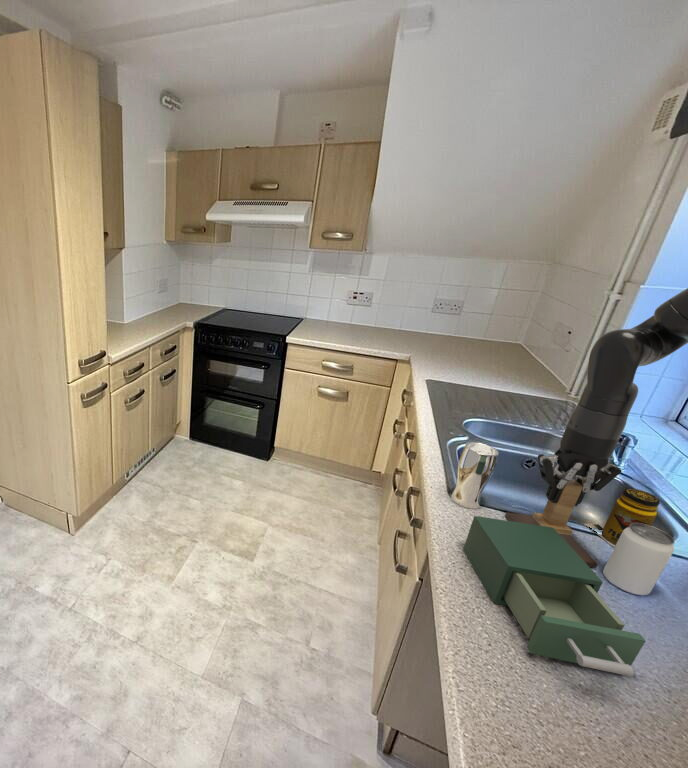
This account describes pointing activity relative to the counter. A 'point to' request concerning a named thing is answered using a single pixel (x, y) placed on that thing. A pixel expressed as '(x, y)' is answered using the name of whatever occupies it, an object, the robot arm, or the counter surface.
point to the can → (639, 558)
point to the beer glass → (474, 473)
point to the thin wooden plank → (567, 538)
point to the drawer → (571, 623)
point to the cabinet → (521, 555)
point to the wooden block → (560, 509)
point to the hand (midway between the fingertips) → (561, 502)
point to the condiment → (628, 514)
